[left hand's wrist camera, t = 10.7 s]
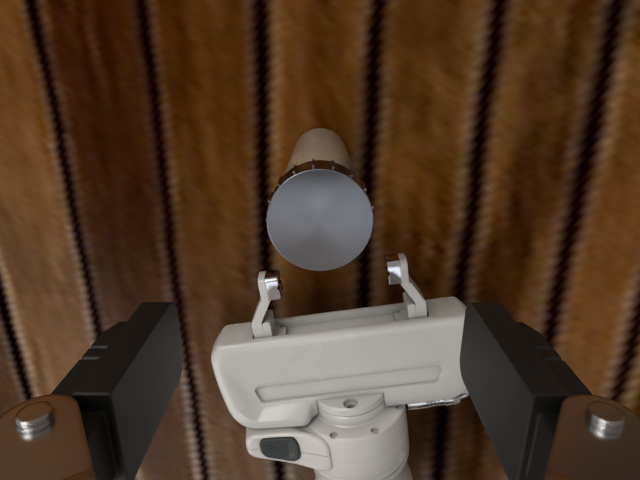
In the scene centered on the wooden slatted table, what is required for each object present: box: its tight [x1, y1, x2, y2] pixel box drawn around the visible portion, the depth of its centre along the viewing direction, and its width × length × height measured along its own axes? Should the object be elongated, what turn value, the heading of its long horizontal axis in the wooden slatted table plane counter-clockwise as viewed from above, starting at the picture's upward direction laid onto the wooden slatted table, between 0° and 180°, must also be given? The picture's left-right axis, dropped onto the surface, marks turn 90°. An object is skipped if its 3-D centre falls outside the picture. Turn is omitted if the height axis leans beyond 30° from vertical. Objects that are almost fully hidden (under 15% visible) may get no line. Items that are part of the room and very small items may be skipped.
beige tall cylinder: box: [284, 128, 356, 175], centre depth 29 cm, size 4×4×17 cm
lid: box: [266, 159, 374, 271], centre depth 21 cm, size 5×5×2 cm
